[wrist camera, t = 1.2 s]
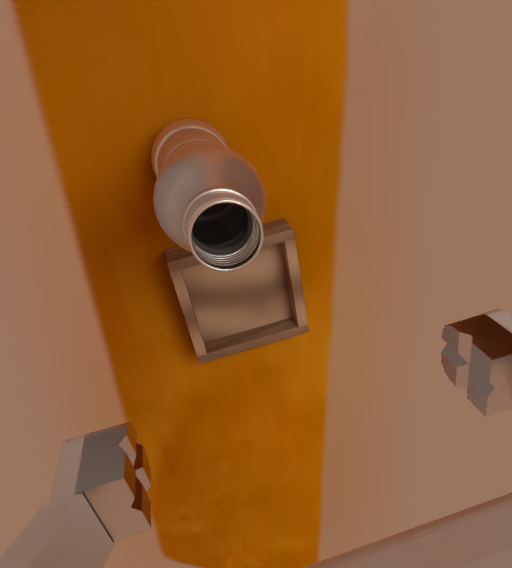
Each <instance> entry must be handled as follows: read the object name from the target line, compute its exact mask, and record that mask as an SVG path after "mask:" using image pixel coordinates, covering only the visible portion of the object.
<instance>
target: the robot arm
mask: <svg viewBox="0 0 512 568" xmlns="http://www.w3.org/2000/svg"><path fill="white" fill-rule="evenodd" d="M442 339H443V340H444V341H445V342H447V345H446V346H445V347H444V349H443V350H442V352H441V355H442V356H441V357H442V360H441V362H442V365H443V368H444V371H445V373H446V374H447V376H448V378H449V379H450V380H451V381H452V382H453V383H454V385H455V386H457V387H460V388H462V389H465V390H467V398H468V399H469V400H470V401H471V402H472V403H473V404H474V406H476V408H478V410H479V411H480V412H481V413H482V414H483V415H484V416H485V417H487V416H490V415H493V414H497V413H500V412H503V411H506V410H509V409H512V314H510V313H509V312H508V311H506V310H504V309H500V308H498V309H494V310H491V311H488V312H485V313H482V314H480V315H477V316H474V317H470V318H467V319H464V320H461V321H457V322H454V323H451V324H448V325H445V327H444V329H443V331H442ZM150 486H151V473H150V466H149V461H148V458H147V454H146V451H145V449H144V447H143V445H141V444H139V443H137V432H136V430H135V428H134V427H133V425H132V423H130V422H128V423H124V424H121V425H117V426H113V427H110V428H106V429H103V430H99V431H96V432H92V433H89V434H87V435H84V436H80V437H76V438H73V439H69V440H66V441H65V443H64V444H63V445H62V448H61V452H60V457H59V461H58V465H57V470H56V474H55V478H54V483H53V487H52V492H51V496H50V500H49V503H48V504H45V505H43V506H41V508H40V509H39V510H38V511H37V513H36V514H35V515H34V516H33V517H32V519H31V520H30V521H29V523H28V524H27V525H26V526H25V527H24V529H23V530H22V531H21V532H20V534H19V535H18V536H17V537H16V538H15V540H14V541H13V542H12V543H11V545H10V546H9V547H8V548H7V550H6V551H5V552H4V553H3V555H2V556H1V557H0V568H103V567H104V565H105V563H106V560H107V559H108V557H109V555H110V553H111V551H112V549H113V547H114V542H117V541H120V540H122V539H125V538H128V537H131V536H133V535H136V534H139V533H142V532H144V531H147V530H149V529H151V501H150V499H149V496H148V494H147V490H148V489H149V487H150ZM303 568H512V493H509V494H506V495H503V496H501V497H498V498H495V499H492V500H490V501H487V502H484V503H481V504H478V505H476V506H473V507H470V508H467V509H465V510H462V511H459V512H456V513H453V514H451V515H448V516H445V517H442V518H440V519H437V520H434V521H432V522H428V523H426V524H423V525H420V526H417V527H415V528H412V529H409V530H407V531H403V532H401V533H398V534H395V535H392V536H390V537H387V538H384V539H381V540H379V541H376V542H373V543H370V544H368V545H365V546H362V547H359V548H356V549H353V550H351V551H348V552H345V553H342V554H340V555H337V556H334V557H331V558H329V559H326V560H323V561H320V562H317V563H315V564H312V565H309V566H306V567H303Z"/></svg>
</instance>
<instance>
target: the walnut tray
mask: <svg viewBox="0 0 512 568" xmlns="http://www.w3.org/2000/svg"><path fill="white" fill-rule="evenodd" d="M262 226H263V231H264V240H263V245H262V248H261V250H260V252H259V254H258V255H257V257H256V258H255V259H254V260H253V261H252V262H251V263H250V264H249V265H247V266H246V267H244V268H242V269H239V270H236V271H232V272H220V271H215V270H212V269H209V268H207V267H206V266H204V265H203V264H201V263H200V262H199V261H198V260H197V259H196V257H195V256H194V255H193V254H192V253H190V252H189V251H187V250H185V249H183V248H181V247H180V246H178V247H174V248H171V249H167V250H165V252H166V262H167V266H168V269H169V272H170V275H171V278H172V281H173V284H174V287H175V290H176V293H177V296H178V299H179V302H180V305H181V308H182V312H183V315H184V318H185V321H186V324H187V327H188V330H189V333H190V336H191V339H192V342H193V345H194V348H195V351H196V354H197V357H198V360H199V364H201V363H204V362H208V361H211V360H215V359H218V358H221V357H225V356H228V355H232V354H235V353H238V352H242V351H245V350H248V349H252V348H255V347H259V346H262V345H265V344H269V343H272V342H275V341H279V340H282V339H286V338H289V337H292V336H296V335H299V334H303V333H306V332H309V330H308V323H307V316H306V310H305V303H304V296H303V289H302V283H301V276H300V269H299V263H298V256H297V249H296V243H295V236H294V229H293V228H292V227H291V226H290V224H289V223H288V222H287V221H286V220H285V219H281V220H277V221H273V222H270V223H266V224H262Z"/></svg>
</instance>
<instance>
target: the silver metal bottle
mask: <svg viewBox="0 0 512 568" xmlns="http://www.w3.org/2000/svg"><path fill="white" fill-rule="evenodd" d="M151 161H152V167H153V170H154V174H155V176H156V177H157V180H156V183H155V187H154V195H153V203H154V211H155V214H156V217H157V220H158V222H159V224H160V226H161V228H162V229H163V231H164V232H165V233H166V234H167V236H168V237H169V238H170V239H171V240H172V241H174V242H175V243H176V244H177V245H179V246H180V247H181V248H183V249H185V250H187V251H189V252H190V253H192V254H193V255H194V256H195V257H196V259H197V260H198V261H199V262H200V263H201V264H203V265H204V266H206V267H207V268H209V269H212V270H215V271H220V272H232V271H236V270H239V269H242V268H244V267H246V266H247V265H249V264H250V263H251V262H252V261H253V260H254V259H255V258H256V257H257V255H258V254H259V252H260V250H261V248H262V245H263V240H264V231H263V226H262V220H263V215H264V210H265V194H264V189H263V185H262V182H261V180H260V177H259V175H258V174H257V172H256V171H255V169H254V167H253V166H252V165H251V164H250V163H249V162H248V161H247V160H246V159H245V158H244V157H242V156H241V155H239V154H238V153H236V152H235V151H233V150H231V149H229V147H228V144H227V142H226V140H225V139H224V137H223V136H222V135H221V134H220V132H219V131H218V130H217V129H215V128H214V127H213V126H211V125H210V124H208V123H205V122H203V121H200V120H196V119H182V120H177V121H175V122H173V123H170V124H169V125H167V126H166V127H165V128H163V130H162V131H161V132H160V133H159V134H158V136H157V138H156V139H155V141H154V144H153V147H152V154H151Z"/></svg>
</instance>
